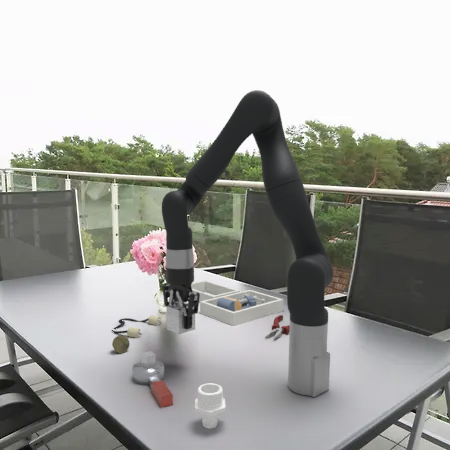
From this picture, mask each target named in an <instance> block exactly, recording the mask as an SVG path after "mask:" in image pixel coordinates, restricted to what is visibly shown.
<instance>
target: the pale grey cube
mask: <svg viewBox="0 0 450 450" xmlns="http://www.w3.org/2000/svg"><path fill="white" fill-rule="evenodd" d="M187 303H188V302H185V303H184V304H187ZM165 308H166V330H168V331H170V332H173V333H174V334H177V335H180V334H181V335H182V334H185V333H188V332H190V331H194V330H196V314H193V315H192V328H190V329H187V330H186V329H184V313H183V309H182V308H181V307H180V303H179V304H173V305H169V306H166V307H165ZM186 308H187V311H188V306H187V307H186ZM193 309H194V307H193Z"/></svg>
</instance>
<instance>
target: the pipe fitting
mask: <svg viewBox="0 0 450 450" xmlns="http://www.w3.org/2000/svg"><path fill="white" fill-rule="evenodd" d="M223 390H224V389H223V387H222V386H221V385H220V384H217V383H214V382H213V383H212V382H209V383H203V384H201V385H200V386H198V388H197V398H195V399H194V412H195V413H197V414H201V416H202V419H201V421H202V426H203V427H204V428H205V429H209V430H211V429H215V428H216V427H217V426H218V421H219V420H218V419H219V417H218V416H219V414H220V415H221V414H222V413H225V412H226V399H225V398H224V397H223Z"/></svg>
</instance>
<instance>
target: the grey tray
mask: <svg viewBox="0 0 450 450" xmlns="http://www.w3.org/2000/svg"><path fill="white" fill-rule="evenodd" d="M191 287H192V291H193V292H195V293H197V292H199V294H200V298H199V304H200V301H204V300H209V299H213V298H217V297H221V296H226V295H230V294H234V293H238V292H241V290H239V289H236V288H232V287H229V286H225V285H222V284H219V283H214V282H212V281H208V280H201V281H196V282H195V281H194V282H192V284H191Z"/></svg>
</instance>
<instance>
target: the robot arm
mask: <svg viewBox="0 0 450 450" xmlns="http://www.w3.org/2000/svg"><path fill="white" fill-rule="evenodd" d="M251 135H252V136H253V138H254V140H255V143H256V146H257V150H258V151H259V155H260V162H261V171H262V172H261V173H262V174H261V175H262V182H263V186H264V187H263V188H264V190H265V193H266V196H267V200H268V203H269V206H270V208H271V211H272V213H273V215H274V216H275V218H276V220H277V221H278V222H279V224H280V225H281V227H282V228H283V229H284V231H285V232H286V234H287V236H288V238H289V240H290V241H291V244H292V247H293V250H294V254H295V257H296V258H295V259H296V260H294V261H293V262H292V263H291V265H290V266H289V269H288V271H287V278H286V279H287V280H286V281H287V283H286V288H287V290H286V292H287V294H286V295H287V296H286V297H287V298H286V299H287V303H286V304H287V309H288V312H289V325H290V331H289V338H288V341H289V342H288V367H287V368H288V372H287V373H288V377H287V387H288V388H289V390H290V391H292V392H294V393H295V394H298V395H302V396H310V397H312V398H315V397H317V396H319V395H321V394H323V393H325V392H327V391H329V389H330V370H331V369H330V368H331V366H330V365H331V353H330V352H329V351H328V332H329V331H328V330H329V327H328V326H329V312H328V309H327V308H326V307H325V289H326V288H327V287H329V286H330V284H331V283H332V281H333V279H334V269H333V265H332V262H331V260H330V258H329V256H328V253H327V251H326V249H325V246H324V244H323V242H322V240H321V238H320V237H321V236H320V235H319V232H318V229H317V227H316V222H315V219H314V217H313V213H312V210H311V206H310V203H309V200H308V196H307V193H306V189H305V187H304V184H303V181H302V178H301V176H300V172H299V170H298V166H297V164H296V162H295V159H294V156H293V155H292V153H291V151H290V148H289V146H288V144H287V140H286V136H285V131H284V126H283V121H282V116H281V112H280V107H279V105H278V103H277V102H276V100H275V99H273V98H272V97H271V95H270V94H269V93H267V92H265V91H264V90H259V89H258V90H257V89H256V90H251V91H249V92H247V93H246V94H245V95H244V96H243V97H242V98H241V99H240V101H239V103H238V104H237V105H236V107H235V109H234V110H233V112H232V114H231V115H230V117H229V119H228V120H227V122H226V123H225V125H224V126H223V128H222V129H221V130H220V133H219V134H218V135H217V136H216V138H215V140H214V141H213V142H212V144H210V146H209V147H208V148H207V150H206V151H205V152H204V154H203V155H201V157H199V159H198V160H197V161H196V162H195V163H194V165H192V167H191V169H189V171H188V172H187V174H186V175H185V180H184V182H183V183H182V184H181V185H180V187H179V188H178V189H177V190H172V191H169V192H167V193H166V194H165V195H164V197H163V199H162V201H161V214H162V215H161V216H162V220H163V225H164V229H165V235H166V236H165V239H166V241H165V242H166V243H165V244H166V245H165V246H166V252H165V280H166V283H167V284H165V285H162V295H163V303H164V304H163V305H164V306H165V308H166V306H169V305H173V304H179V303H180V307H181V308H182V309H183V313H184V329H186V330H187V329H190V328H192V315H193V314H195V315H196V314H198V313H199V308H200V303H199V298H200V294H199V292H197V293H195V292H193V291H192V287H191V284H192V283H194V282H195V261H194V260H195V256H194V250H193V249H194V247H193V244H194V242H193V230H192V229H191V227H190V226H189V221H188V215H189V214H191V213H192V212H193V211H194V210H195V209H196V208H197V206H198V205H199V204H200V202H201V200H203V198H204V196H205V194H206V193H208V191H209V190H210V189H211V188H212V187H213V186H214V185H215V183H216V182H217V181H218V180H219V178H221V177H222V175H223V174H224V172H225V171H226V170H227V168H228V167H229V165H230V163H231V161H232V159H233V157H234V156H235V154H236V153H237V151H238V149H239V148H240V147H241V145H242V144H243V143H244V142H245V141H246V140H247V139H248V138H249V137H250V136H251ZM184 303H187V304H184ZM187 306H188V311H187V308H186V307H187ZM193 307H194V309H193Z"/></svg>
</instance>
